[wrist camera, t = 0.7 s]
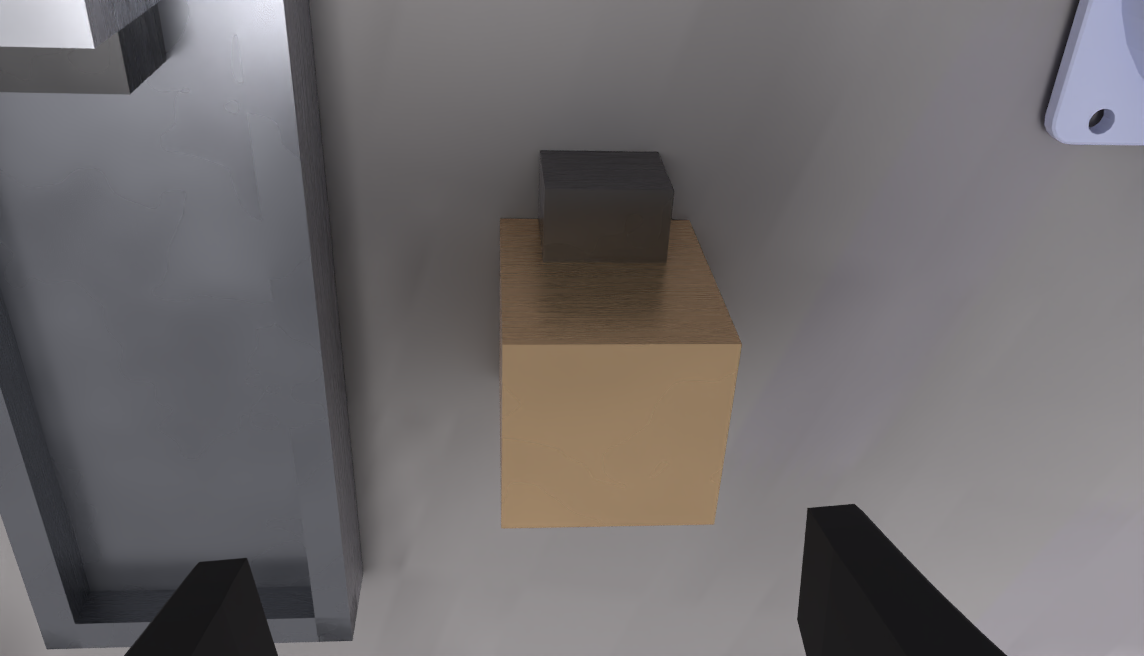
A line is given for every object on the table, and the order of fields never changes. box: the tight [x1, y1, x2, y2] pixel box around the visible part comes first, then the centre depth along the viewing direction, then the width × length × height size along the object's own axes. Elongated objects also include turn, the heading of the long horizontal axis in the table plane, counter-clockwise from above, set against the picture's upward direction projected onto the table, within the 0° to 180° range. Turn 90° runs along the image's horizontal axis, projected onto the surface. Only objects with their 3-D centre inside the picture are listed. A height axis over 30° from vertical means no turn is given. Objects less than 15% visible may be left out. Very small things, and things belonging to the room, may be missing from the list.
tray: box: [0, 0, 363, 649], centre depth 18 cm, size 7×20×2 cm, turn 178°
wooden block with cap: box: [500, 151, 742, 528], centre depth 19 cm, size 4×6×5 cm
